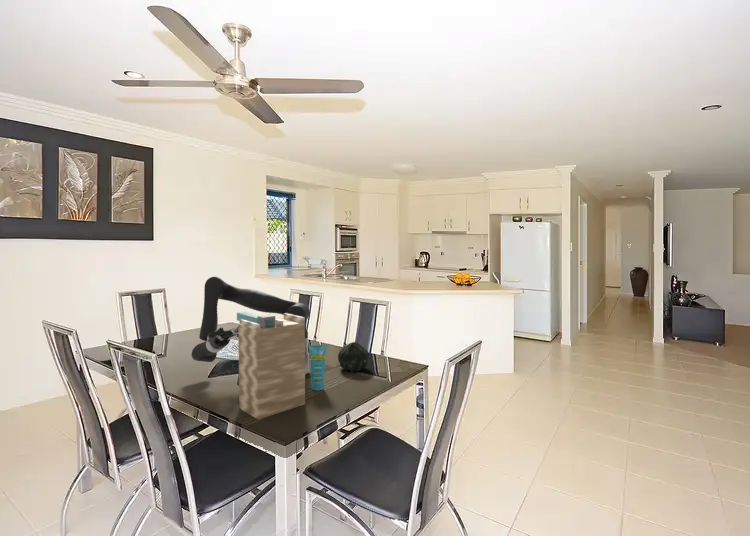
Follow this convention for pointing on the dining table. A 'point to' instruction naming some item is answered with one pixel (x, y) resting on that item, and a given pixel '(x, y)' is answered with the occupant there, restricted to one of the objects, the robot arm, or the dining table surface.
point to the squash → (353, 357)
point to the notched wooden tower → (271, 366)
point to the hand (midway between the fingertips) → (232, 327)
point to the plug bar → (258, 319)
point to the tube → (317, 365)
